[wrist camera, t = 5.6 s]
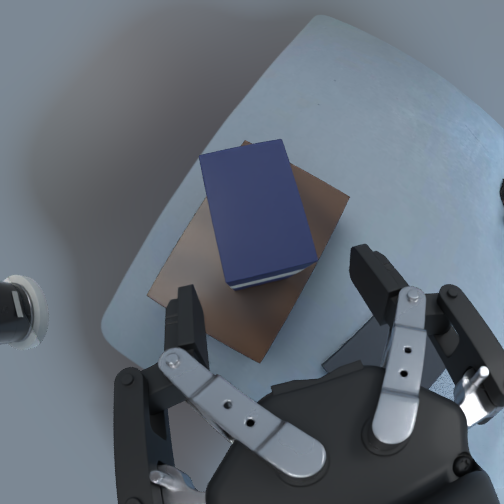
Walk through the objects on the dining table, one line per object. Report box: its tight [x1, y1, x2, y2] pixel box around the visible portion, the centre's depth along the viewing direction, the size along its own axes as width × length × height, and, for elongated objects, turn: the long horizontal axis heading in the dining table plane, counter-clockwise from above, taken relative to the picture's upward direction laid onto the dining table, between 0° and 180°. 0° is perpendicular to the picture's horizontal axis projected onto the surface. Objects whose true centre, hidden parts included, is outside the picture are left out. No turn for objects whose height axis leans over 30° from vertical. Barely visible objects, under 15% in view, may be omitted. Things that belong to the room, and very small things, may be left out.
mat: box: [322, 316, 446, 389], centre depth 31 cm, size 14×14×1 cm
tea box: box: [199, 139, 318, 291], centre depth 21 cm, size 5×8×11 cm, turn 13°
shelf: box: [147, 140, 350, 363], centre depth 30 cm, size 18×12×7 cm, turn 150°
